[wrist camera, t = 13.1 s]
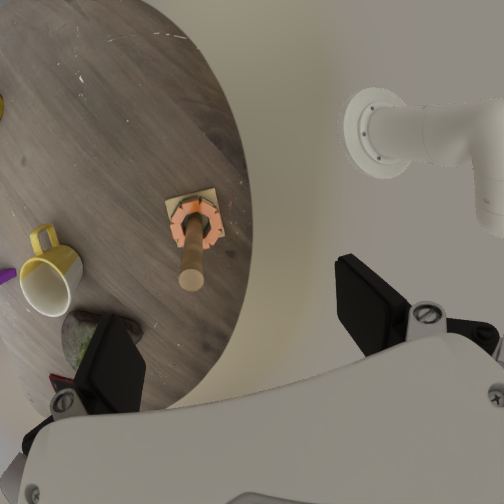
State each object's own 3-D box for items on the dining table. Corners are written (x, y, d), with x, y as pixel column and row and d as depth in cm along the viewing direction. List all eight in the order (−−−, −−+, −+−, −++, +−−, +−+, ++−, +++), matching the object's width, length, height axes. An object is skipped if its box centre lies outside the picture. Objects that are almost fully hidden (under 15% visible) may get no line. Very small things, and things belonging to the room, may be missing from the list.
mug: (94, 289, 44) (75, 321, 35) (51, 284, 42) (27, 313, 32) (88, 217, 39) (61, 236, 30) (42, 216, 37) (10, 234, 28)
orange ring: (214, 193, 39) (215, 196, 37) (225, 238, 42) (226, 244, 39) (167, 205, 38) (165, 208, 36) (179, 249, 41) (178, 255, 39)
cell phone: (103, 403, 55) (102, 406, 54) (56, 391, 52) (55, 394, 51) (98, 385, 53) (97, 388, 52) (49, 373, 49) (48, 375, 48)
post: (214, 187, 42) (226, 225, 22) (224, 234, 45) (245, 307, 25) (165, 199, 41) (133, 248, 21) (178, 245, 44) (163, 326, 24)
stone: (76, 354, 49) (64, 385, 39) (58, 302, 44) (38, 331, 34) (152, 359, 52) (147, 394, 43) (141, 304, 47) (131, 338, 38)
